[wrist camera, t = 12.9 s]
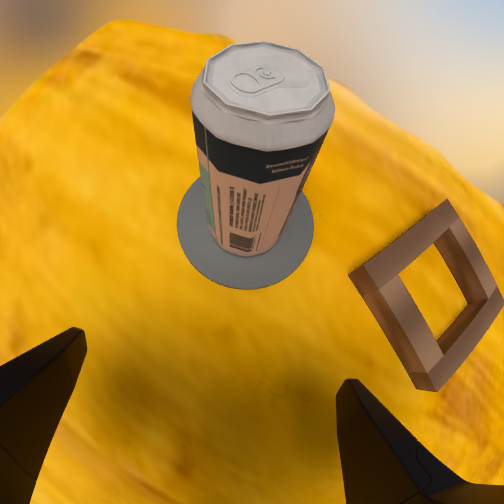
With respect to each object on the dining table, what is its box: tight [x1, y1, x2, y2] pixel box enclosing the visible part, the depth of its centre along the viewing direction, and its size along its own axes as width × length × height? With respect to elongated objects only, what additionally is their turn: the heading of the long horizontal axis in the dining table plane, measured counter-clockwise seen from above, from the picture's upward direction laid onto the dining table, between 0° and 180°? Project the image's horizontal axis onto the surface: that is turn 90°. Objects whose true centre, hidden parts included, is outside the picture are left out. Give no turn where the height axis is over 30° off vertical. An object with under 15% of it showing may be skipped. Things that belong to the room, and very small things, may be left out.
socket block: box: [348, 199, 504, 392], centre depth 18 cm, size 10×10×2 cm
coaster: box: [177, 177, 314, 290], centre depth 19 cm, size 9×9×1 cm
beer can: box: [190, 41, 335, 257], centre depth 13 cm, size 5×5×12 cm
